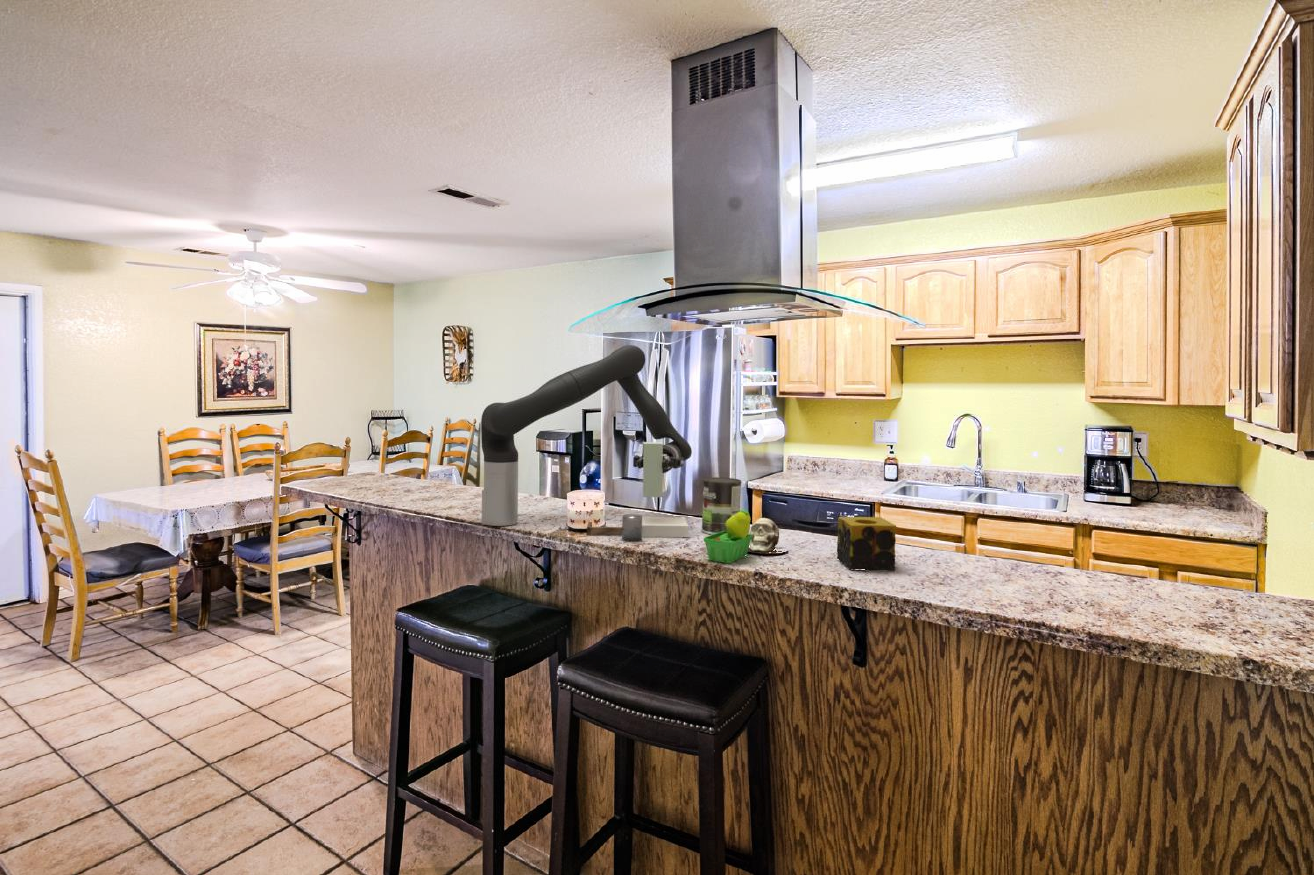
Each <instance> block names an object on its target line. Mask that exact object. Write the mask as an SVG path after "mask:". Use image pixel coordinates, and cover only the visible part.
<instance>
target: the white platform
mask: <svg viewBox="0 0 1314 875" xmlns="http://www.w3.org/2000/svg"><path fill="white" fill-rule="evenodd" d="M689 528H690V526H689V524H688V522H687V519H686V518H685V517H676V516H675V517H671V516H670V517H669V516H667V517H666V516H665V517H664V516H642V538H683V537H688V538H689Z"/></svg>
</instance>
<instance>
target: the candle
mask: <svg viewBox="0 0 1314 875" xmlns="http://www.w3.org/2000/svg"><path fill="white" fill-rule="evenodd" d="M837 529H838V531H837V542H836V543H837V544H836V553H837V554H836V555H837V557H836V560H837V559H839V560H840V561H841V562H842V563H843V564H844V565H845V566H847V567H848V568H849V569H865V570H893V571H895V570H896V565H895V564H896V556H897V555H896V550H895V549H896V540H897V539H896V532H897V531H896V529H897V525H896V524H895V523H892V522H891V521H889V520H887V519H885V518H883V517H880V516H840V517H837ZM841 562H840V563H841ZM843 564H842V565H843ZM844 565H843V566H844ZM845 566H844V567H845ZM847 567H846V568H847ZM848 568H847V569H848ZM849 569H848V570H849ZM865 570H864V571H865Z"/></svg>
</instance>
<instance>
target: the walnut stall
mask: <svg viewBox="0 0 1314 875" xmlns="http://www.w3.org/2000/svg"><path fill="white" fill-rule="evenodd" d="M586 536H621V537H622V526H593V527H592V522H589V521H588V523H587V526H586Z"/></svg>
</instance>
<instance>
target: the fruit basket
mask: <svg viewBox="0 0 1314 875" xmlns="http://www.w3.org/2000/svg"><path fill="white" fill-rule="evenodd" d="M725 526H726V529H727V531H721V532H719V533H716V534H713V535H711V534H709V535H708V536H706V537H705V536H704V537H703V541H704V543H705V547H706V551H707V556H708V560H709V561H711V560H714V561H713V562H718V561H719V563H725V562H726V563H727V564H732V563H733V562H736V561H738V560H740V558H741V559H742V558H744V557H743V556H745V555H746V556H747V554H748V552H749V551H748V548H749V545H750V544H751V539H752V537H753V535H752V534H750V531H751V516H750V513H749V512H748V511H747V510H745V509H740V511H739V512H738V513H737V514H735V515H734V516H732V517H730V519H728V520H727V521H726V523H725ZM746 556H745V557H746ZM737 559H738V560H737ZM735 560H736V561H735Z"/></svg>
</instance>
